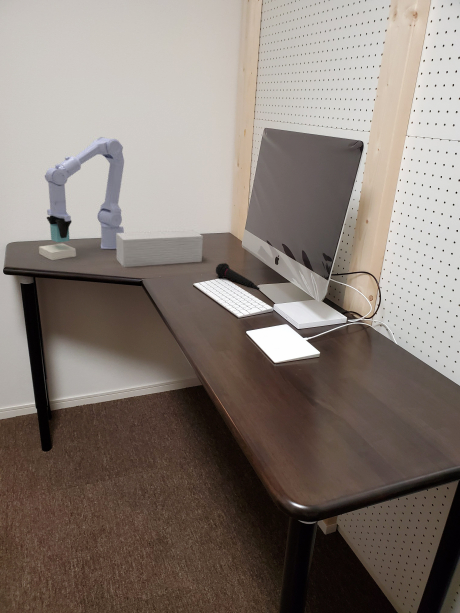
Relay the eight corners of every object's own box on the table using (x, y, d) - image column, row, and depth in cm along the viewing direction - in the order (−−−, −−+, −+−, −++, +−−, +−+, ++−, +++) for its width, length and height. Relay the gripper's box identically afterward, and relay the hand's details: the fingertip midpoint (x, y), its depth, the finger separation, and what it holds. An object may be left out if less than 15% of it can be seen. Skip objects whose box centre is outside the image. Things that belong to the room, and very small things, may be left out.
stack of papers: (191, 254, 196) (192, 230, 192) (201, 262, 187) (202, 236, 183) (116, 259, 182) (116, 233, 178) (123, 267, 173) (123, 239, 169)
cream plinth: (63, 250, 188) (62, 243, 187) (75, 256, 182) (75, 248, 180) (39, 254, 181) (38, 246, 180) (51, 260, 175) (51, 252, 174)
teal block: (63, 238, 183) (62, 223, 181) (69, 240, 180) (68, 225, 178) (51, 239, 180) (50, 224, 178) (57, 242, 177) (56, 227, 175)
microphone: (260, 296, 163) (219, 275, 174) (266, 281, 162) (224, 261, 172) (251, 295, 158) (210, 274, 169) (258, 280, 157) (216, 259, 168)
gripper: (38, 198, 176) (41, 233, 181) (57, 204, 167) (59, 241, 172) (56, 197, 181) (58, 231, 186) (74, 203, 172) (76, 239, 177)
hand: (60, 236), depth 180 cm, fingers closed on teal block, 5 cm apart
